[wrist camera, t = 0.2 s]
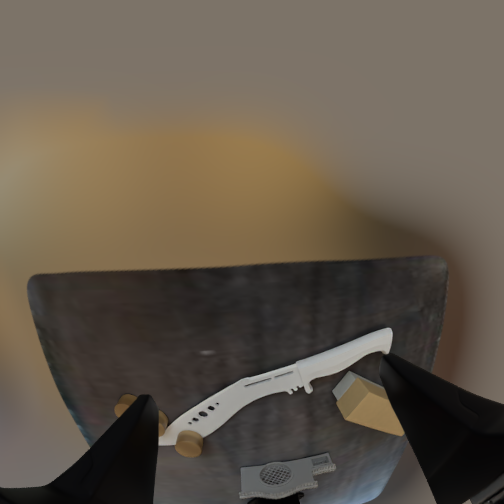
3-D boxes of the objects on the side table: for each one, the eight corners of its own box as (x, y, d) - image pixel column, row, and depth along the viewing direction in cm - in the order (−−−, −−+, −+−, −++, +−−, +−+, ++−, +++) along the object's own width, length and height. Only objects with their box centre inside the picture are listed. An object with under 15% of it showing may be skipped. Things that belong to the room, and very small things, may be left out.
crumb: (139, 418, 25) (134, 428, 23) (117, 404, 24) (111, 414, 22) (148, 403, 25) (143, 414, 23) (125, 389, 24) (119, 399, 22)
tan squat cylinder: (197, 449, 25) (195, 460, 23) (174, 440, 25) (171, 451, 23) (207, 436, 25) (206, 447, 23) (182, 426, 25) (180, 437, 23)
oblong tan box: (384, 414, 27) (401, 436, 22) (330, 393, 26) (344, 419, 21) (402, 393, 26) (421, 413, 21) (350, 367, 25) (369, 392, 20)
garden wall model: (329, 450, 27) (342, 480, 21) (329, 457, 27) (341, 487, 21) (237, 465, 26) (238, 499, 20) (239, 473, 26) (241, 505, 20)
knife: (153, 450, 24) (120, 405, 23) (156, 442, 26) (125, 397, 25) (399, 384, 24) (394, 327, 23) (392, 377, 26) (386, 322, 25)
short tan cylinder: (162, 430, 25) (158, 440, 23) (139, 418, 25) (135, 428, 23) (172, 416, 25) (169, 427, 23) (148, 403, 25) (143, 414, 23)
